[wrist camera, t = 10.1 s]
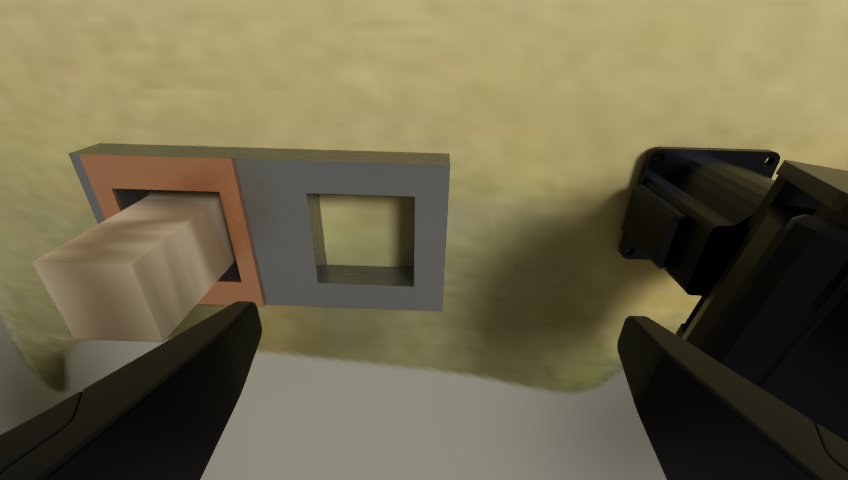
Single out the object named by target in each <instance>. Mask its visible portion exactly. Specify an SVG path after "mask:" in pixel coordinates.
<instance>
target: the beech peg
mask: <svg viewBox="0 0 848 480" xmlns="http://www.w3.org/2000/svg"><path fill="white" fill-rule="evenodd" d="M235 261H236V257H235V253H234V249H233V245H232V241H231V237H230V233H229V229H228V225H227V221H226V217H225V213H224V209H223V205H222V201H221V197H220V193H219V192H209V191H178V190H158V191H156V192H154V193H153V194H151V195H149V196H147V197H145V198H144V199H142V200H140V201H138V202H137V203H135V204H133V205H131V206H130V207H128V208H126V209H124V210H123V211H121V212H119V213H117V214H115V215H114V216H112V217H110V218H108V219H107V220H105V221H103V222H101V223H100V224H98V225H96V226H94V227H93V228H91V229H89V230H87V231H85V232H84V233H82V234H80V235H78V236H77V237H75V238H73V239H71V240H70V241H68V242H66V243H64V244H62V245H61V246H59V247H57V248H55V249H54V250H52V251H50V252H48V253H47V254H45V255H43V256H41V257H40V258H38V259H36V260H34V261H32V264H33V266H34V267H35V269H36V271H37V273H38V275H39V276H40V278H41V280H42V282H43V284H44V285H45V287H46V289H47V291H48V293H49V294H50V296H51V298H52V300H53V302H54V303H55V305H56V307H57V309H58V311H59V312H60V314H61V316H62V318H63V320H64V321H65V323H66V325H67V327H68V329H69V330H70V332H71V334H72V336H73V338H74V339H86V340H118V341H149V342H164V341H165V340H166V338H167V337H168V336H169V335H170V334H171V333H172V332H173V330H174V329H175V328H176V327H177V326H178V325H179V324H180V323H181V321H182V320H183V319H184V318H185V317H186V316H187V315H188V314H189V312H190V311H191V310H192V309H193V308H194V307H195V306H196V305H197V303H198V302H199V301H200V300H201V299H202V298H203V297H204V296H205V294H206V293H207V292H208V291H209V290H210V289H211V288H212V286H213V285H214V284H215V283H216V282H217V281H218V280H219V279H220V277H221V276H222V275H223V274H224V273H225V272H226V271H227V270H228V268H229V267H230V266H231V265H232V264H233V263H234V262H235Z"/></svg>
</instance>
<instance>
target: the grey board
mask: <svg viewBox="0 0 848 480" xmlns="http://www.w3.org/2000/svg"><path fill="white" fill-rule="evenodd" d="M69 156H70V158H71V161H72V163H73V165H74V168H75V170H76V172H77V175H78V177H79V180H80V182H81V184H82V187H83V189H84V191H85V194H86V196H87V198H88V201H89V203H90V205H91V208H92V210H93V212H94V215H95V217H96V219H97V222H98V224H100V223H101V222H103V221H105V220H107V219H108V218H110V217H112V216H114V215H115V214H117V213H119V212H121V211H123V210H124V209H126V208H128V207H130V206H131V205H133V204H135V203H137V202H138V201H140V200H142V199H144V198H145V197H147V196H148V194H147V191H146V190H178V191H209V192H219V193H220V197H221V201H222V205H223V209H224V213H225V217H226V221H227V225H228V229H229V233H230V237H231V241H232V245H233V249H234V253H235V257H236V261H237V262H234V263H233V264H232V265H231V266H230V267H229V268H228V270H227V271H226V272H225V273H224V274H223V275H222V276H221V277H220V279H219V280H218V281H217V282H216V283H215V284H214V285H213V286H212V288H211V289H210V290H209V291H208V292H207V293H206V294H205V296H204V297H203V298H202V299H201V300H200V301H199V302H198V303H197V304H214V305H231V304H233V303H235V302H237V301H252V302H254V303H255V304H256V306H265V304H270V305H297V306H323V307H350V308H376V309H403V310H429V311H442V304H443V286H444V267H445V249H446V230H447V212H448V193H449V175H450V159H449V154H439V153H405V152H371V151H338V150H304V149H270V148H236V147H202V146H169V145H135V144H101V143H99V144H96V145H93V146H90V147H87V148H84V149H81V150H78V151H75V152H72V153H69ZM319 194H350V195H381V196H412V197H415V240H414V268H400V267H372V266H344V265H327V262H326V254H325V245H324V237H323V228H322V220H321V211H320V203H319Z"/></svg>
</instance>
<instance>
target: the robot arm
mask: <svg viewBox="0 0 848 480" xmlns="http://www.w3.org/2000/svg"><path fill="white" fill-rule="evenodd" d="M658 154H661V157H660V159H659V160H657V161H655V157H656V156H657V155H658ZM768 157H769V159H768V161H767V162H766V163H764V161H765V159H767V158H768ZM779 160H780V156H779V154H778V153H776V152H773V151H770V150H755V149H721V148H686V147H655V148H653V149H651V150H650V151H649V152H648V153H647V155H646V158H645V162H644V165H643V168H642V172H641V175H640V178H639V182H638V185H637V186H636V187H635V188H634V189H633V192H632V196H631V199H630V203H629V206H628V209H627V213H626V216H625V219H624V223H623V226H622V229H623V231H624V232H623V235H622V238H621V242H620V245H619V250H618V251H619V253H620V254H621V255H622V257H624V258H626V259H648V260H651V261H652V262H653V263H654V264H655V265H656V267H657V268H659V269H665V271H666V272H667V273H668V274H669V275H670V276H671V277H672V278H673V279H674V280H675V281H676V282H677V283H678V284H679V285H680V286H681V287H682V288H683V290H684V291H685V292H686V293H687V294H689V295H701V296H702V297H701V299H700V300H699V302H698V303H697V305H696V307H695V308H694V310H693V311H692V313H691V315H690V316H689V318H688V319H687V321H686V322H685V324H681V326H680V327H679V329H678V330H677V332H676V335H675V334H674V333H672V332H670V331H669V330H667V329H666V328H664V327H662V326H661V325H659V324H658V323H656V322H654V321H653V320H651V319H650V318H648V317H645V316H629V317H627V318H626V320H625V322H624V325H623V328H622V331H621V334H620V336H619V339H618V344H617V348H618V353H619V356H620V359H621V362H622V366H623V369H624V372H625V375H626V378H627V381H628V384H629V388H630V391H631V394H632V397H633V400H634V403H635V406H636V409H637V412H638V414H639V417H640V419H641V421H642V424H643V426H644V428H645V430H646V433H647V435H648V437H649V440H650V442H651V444H652V446H653V449H654V451H655V453H656V456H657V458H658V460H659V462H660V465H661V467H662V469H663V472H664V474H665V476H666V478H667V480H848V171H844V170H839V169H833V168H828V167H822V166H816V165H811V164H805V163H799V162H794V161H788V160H784V161H783V163H782V165H781V166H780V168H779V169H778V171H777V173H776V174H777V175H778V177H777V178H776V180H772V179H771V178H772V176H773V174H774V172H775V170H776V168H777V165H778V163H779ZM628 248H631V250H630V251H628V252H626V250H627V249H628ZM261 334H262V327H261V322H260V318H259V314H258V309H257V306H256V304H255V303H254V302H252V301H237V302H235V303H233V304H231V305H229V306H228V307H226V308H224V309H222V310H221V311H219V312H217V313H215V314H214V315H212V316H210V317H208V318H207V319H205V320H203V321H201V322H200V323H198V324H196V325H195V326H193V327H191V328H189V329H188V330H186V331H184V332H182V333H181V334H179V335H177V336H175V337H174V338H172V339H170V340H168V341H167V342H165V343H163V344H161V345H160V346H158V347H156V348H154V349H153V350H151V351H149V352H147V353H146V354H144V355H142V356H141V357H139V358H137V359H135V360H134V361H132V362H130V363H128V364H127V365H125V366H123V367H121V368H120V369H118V370H116V371H114V372H113V373H111V374H109V375H107V376H106V377H104V378H102V379H100V380H99V381H97V382H95V383H93V384H92V385H90V386H88V387H86V388H85V389H84V390H83V392H78V393H76V394H74V395H73V396H71V397H69V398H68V399H66V400H64V401H62V402H60V403H59V404H57V405H55V406H53V407H51V408H50V409H48V410H46V411H44V412H43V413H41V414H39V415H37V416H35V417H34V418H32V419H30V420H28V421H26V422H24V423H23V424H21V425H19V426H17V427H15V428H13V429H11V430H9V431H7V432H5V433H3V434H2V435H0V480H200V479H201V476H202V475H203V472H204V470H205V468H206V466H207V464H208V462H209V460H210V458H211V456H212V454H213V452H214V449H215V447H216V445H217V443H218V441H219V439H220V437H221V435H222V433H223V431H224V429H225V426H226V424H227V422H228V420H229V418H230V416H231V414H232V412H233V410H234V408H235V406H236V403H237V401H238V399H239V397H240V394H241V392H242V389H243V387H244V384H245V381H246V378H247V376H248V373H249V370H250V367H251V364H252V361H253V358H254V356H255V353H256V350H257V347H258V344H259V341H260V338H261Z"/></svg>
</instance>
